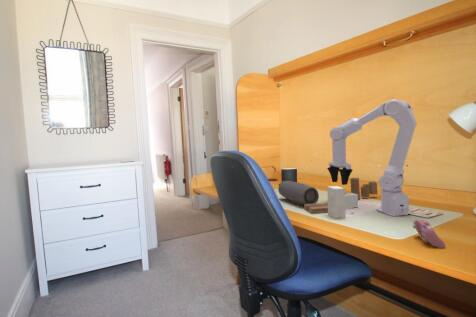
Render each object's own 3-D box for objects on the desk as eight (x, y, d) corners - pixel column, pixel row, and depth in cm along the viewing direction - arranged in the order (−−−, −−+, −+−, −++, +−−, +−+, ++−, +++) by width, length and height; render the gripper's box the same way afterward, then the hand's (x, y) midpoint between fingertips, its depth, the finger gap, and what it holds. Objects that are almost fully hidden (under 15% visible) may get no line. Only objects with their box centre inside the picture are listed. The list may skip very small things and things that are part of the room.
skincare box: (345, 219, 101) (345, 188, 100) (335, 220, 101) (334, 189, 100) (337, 215, 107) (336, 185, 106) (327, 216, 107) (326, 186, 106)
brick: (357, 208, 116) (357, 194, 116) (341, 210, 114) (341, 196, 114) (351, 206, 120) (351, 192, 120) (336, 207, 118) (336, 194, 118)
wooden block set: (374, 196, 137) (373, 176, 137) (381, 198, 129) (380, 177, 129) (337, 197, 139) (336, 177, 139) (342, 200, 131) (341, 179, 131)
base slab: (344, 212, 111) (344, 206, 110) (312, 215, 109) (311, 209, 108) (334, 207, 119) (334, 202, 118) (304, 210, 116) (304, 204, 116)
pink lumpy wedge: (415, 239, 81) (408, 217, 81) (432, 236, 80) (425, 213, 80) (428, 253, 72) (420, 228, 72) (447, 249, 71) (439, 224, 71)
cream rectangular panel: (364, 215, 105) (364, 214, 105) (345, 217, 104) (345, 215, 104) (355, 211, 111) (355, 210, 111) (337, 212, 110) (337, 211, 110)
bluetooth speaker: (320, 207, 120) (319, 185, 120) (302, 209, 117) (302, 187, 117) (293, 197, 142) (292, 178, 141) (277, 199, 139) (277, 180, 138)
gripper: (357, 153, 115) (357, 185, 116) (337, 152, 129) (338, 180, 130) (342, 154, 114) (343, 186, 115) (324, 153, 128) (325, 181, 129)
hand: (339, 183), depth 123 cm, fingers open, 7 cm apart
